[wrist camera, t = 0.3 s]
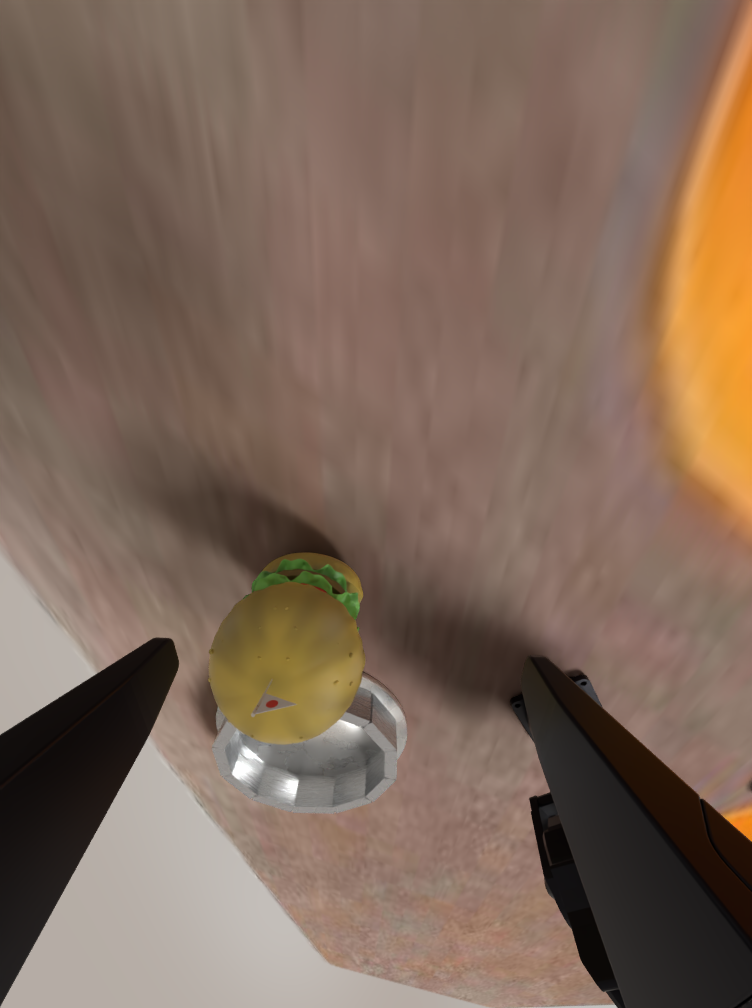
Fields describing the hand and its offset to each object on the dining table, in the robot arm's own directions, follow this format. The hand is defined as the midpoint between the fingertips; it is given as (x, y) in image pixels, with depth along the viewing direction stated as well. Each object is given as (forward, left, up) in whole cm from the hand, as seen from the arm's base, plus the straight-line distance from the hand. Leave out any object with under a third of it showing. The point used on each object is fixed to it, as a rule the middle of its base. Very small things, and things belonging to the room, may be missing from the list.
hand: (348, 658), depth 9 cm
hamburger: (-4, +7, -14) cm, 16 cm away
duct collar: (-18, +17, -14) cm, 28 cm away
